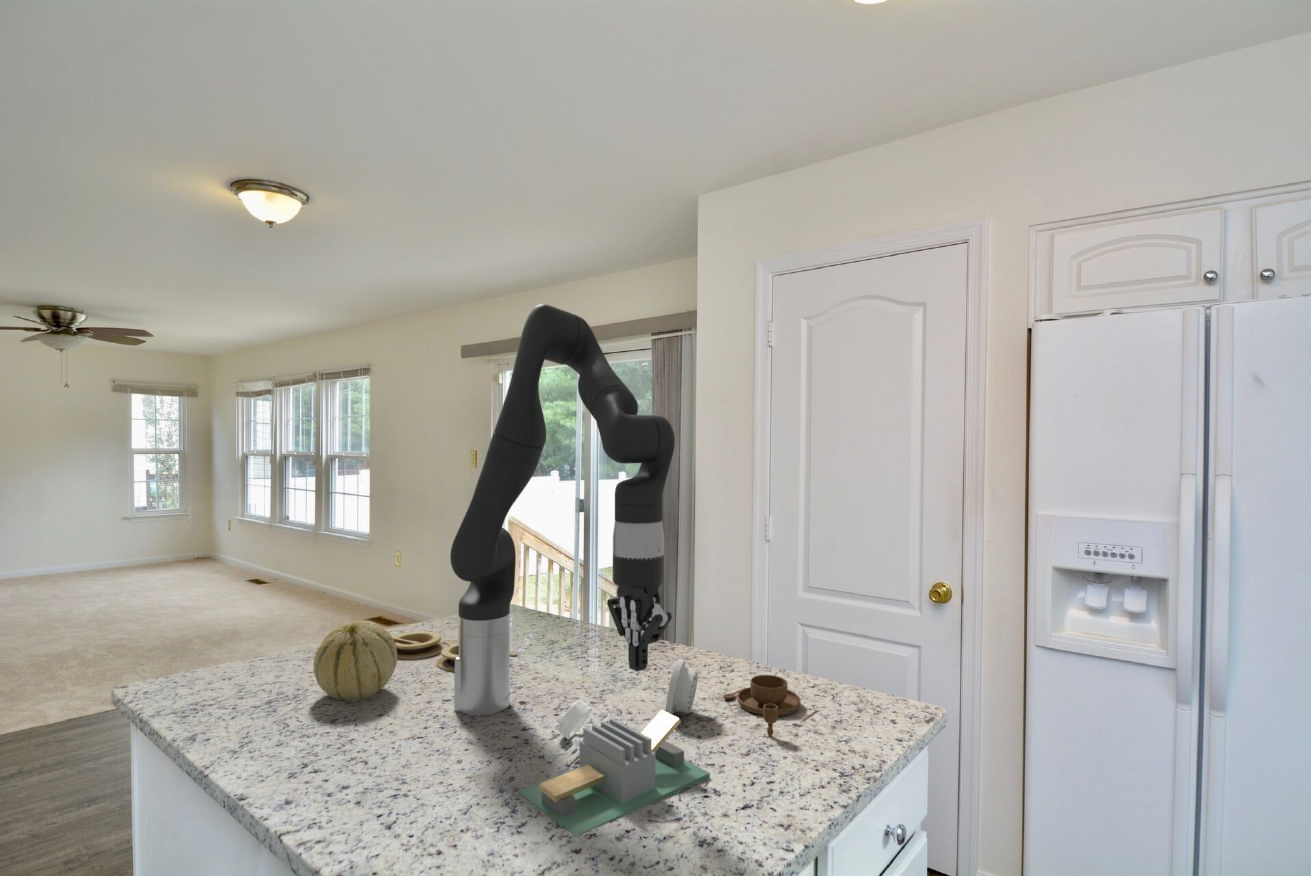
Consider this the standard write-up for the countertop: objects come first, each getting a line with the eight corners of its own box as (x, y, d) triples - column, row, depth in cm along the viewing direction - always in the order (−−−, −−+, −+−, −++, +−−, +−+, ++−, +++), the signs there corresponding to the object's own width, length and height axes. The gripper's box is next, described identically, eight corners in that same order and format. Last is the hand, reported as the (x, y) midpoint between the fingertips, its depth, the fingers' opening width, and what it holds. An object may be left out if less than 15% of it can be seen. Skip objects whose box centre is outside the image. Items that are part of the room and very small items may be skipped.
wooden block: (646, 762, 100) (644, 758, 100) (628, 752, 103) (626, 748, 103) (680, 722, 105) (679, 718, 104) (663, 713, 108) (661, 709, 107)
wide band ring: (575, 702, 125) (592, 675, 123) (617, 740, 122) (635, 712, 120) (519, 745, 108) (538, 713, 107) (566, 789, 105) (587, 758, 104)
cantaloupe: (388, 678, 143) (388, 606, 142) (405, 702, 130) (405, 623, 130) (308, 693, 134) (308, 616, 134) (319, 720, 122) (319, 636, 122)
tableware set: (520, 656, 159) (520, 631, 159) (459, 685, 141) (459, 656, 141) (425, 637, 172) (425, 614, 172) (359, 661, 155) (359, 635, 155)
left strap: (555, 802, 90) (555, 796, 90) (539, 789, 93) (539, 783, 93) (604, 781, 95) (604, 775, 95) (587, 770, 98) (587, 764, 98)
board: (575, 847, 86) (575, 780, 86) (518, 801, 96) (518, 741, 96) (709, 782, 102) (710, 725, 102) (647, 748, 112) (648, 697, 112)
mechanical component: (671, 701, 131) (680, 651, 130) (693, 707, 130) (703, 657, 129) (660, 724, 121) (670, 669, 121) (685, 730, 120) (695, 675, 120)
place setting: (826, 708, 130) (826, 677, 130) (776, 747, 115) (777, 712, 114) (745, 686, 141) (745, 658, 141) (689, 719, 125) (690, 687, 125)
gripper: (687, 555, 98) (687, 676, 98) (631, 542, 108) (630, 652, 108) (646, 561, 93) (646, 688, 93) (591, 547, 103) (591, 662, 104)
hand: (637, 668), depth 101 cm, fingers closed
